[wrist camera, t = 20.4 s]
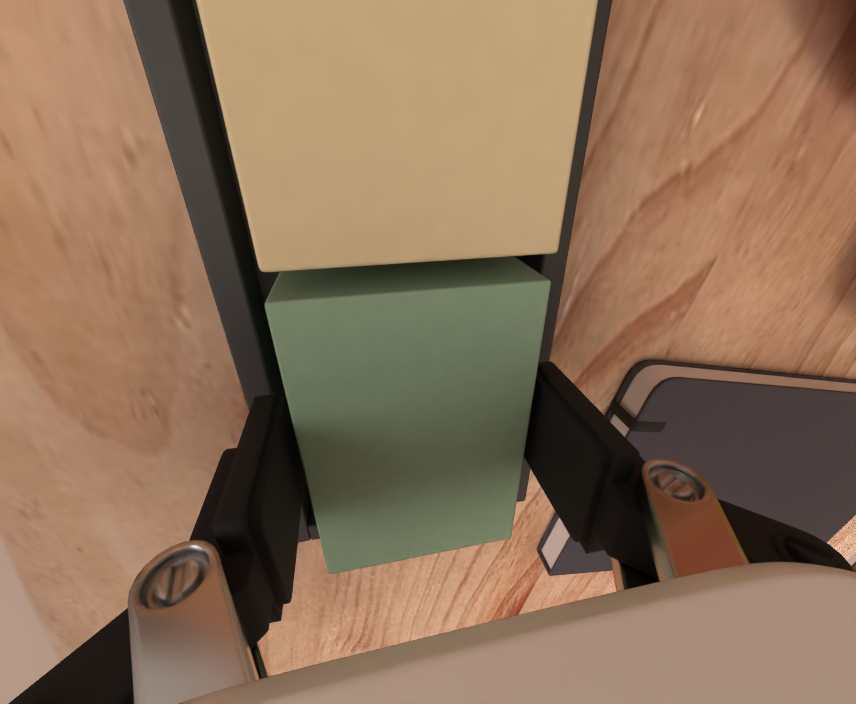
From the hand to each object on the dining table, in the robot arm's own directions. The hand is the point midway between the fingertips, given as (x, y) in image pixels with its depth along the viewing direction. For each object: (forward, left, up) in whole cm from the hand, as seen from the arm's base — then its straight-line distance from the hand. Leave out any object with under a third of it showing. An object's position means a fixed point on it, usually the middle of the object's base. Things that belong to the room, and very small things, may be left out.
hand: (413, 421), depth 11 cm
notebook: (+19, -9, -3) cm, 21 cm away
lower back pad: (0, 0, -3) cm, 3 cm away
